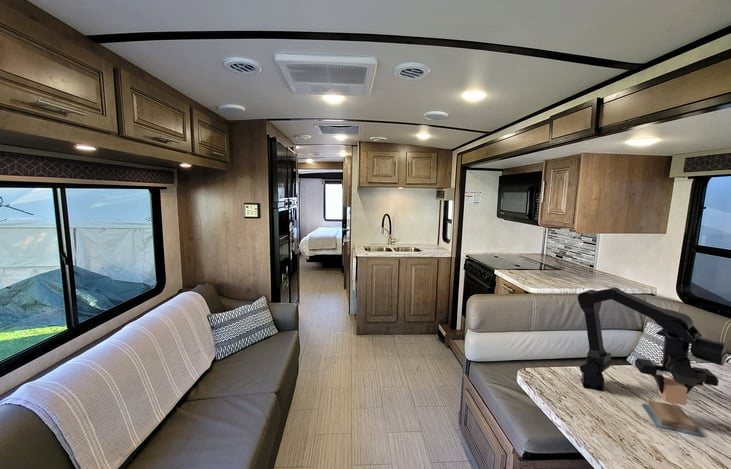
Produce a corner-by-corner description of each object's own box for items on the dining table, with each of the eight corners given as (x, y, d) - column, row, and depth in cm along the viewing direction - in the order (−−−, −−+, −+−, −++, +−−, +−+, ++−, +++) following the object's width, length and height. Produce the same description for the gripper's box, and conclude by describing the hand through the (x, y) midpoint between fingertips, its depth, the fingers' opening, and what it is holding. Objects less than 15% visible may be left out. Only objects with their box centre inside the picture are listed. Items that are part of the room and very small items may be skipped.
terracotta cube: (665, 401, 97) (666, 384, 97) (658, 392, 102) (659, 376, 101) (685, 405, 95) (687, 388, 95) (677, 396, 100) (679, 379, 99)
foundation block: (656, 426, 97) (656, 418, 97) (642, 405, 107) (642, 398, 106) (702, 437, 92) (703, 428, 92) (683, 414, 102) (684, 406, 102)
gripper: (649, 357, 94) (645, 402, 95) (733, 370, 85) (727, 419, 87) (635, 342, 103) (632, 382, 105) (709, 352, 95) (705, 396, 97)
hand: (671, 394), depth 98 cm, fingers closed on terracotta cube, 5 cm apart
